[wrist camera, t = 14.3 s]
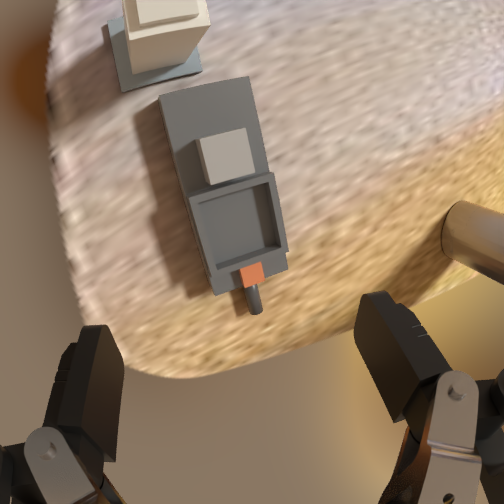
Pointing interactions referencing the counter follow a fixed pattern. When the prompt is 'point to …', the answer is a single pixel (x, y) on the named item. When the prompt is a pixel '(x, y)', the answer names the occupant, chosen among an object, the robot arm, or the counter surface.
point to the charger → (163, 31)
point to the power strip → (226, 184)
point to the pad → (148, 77)
